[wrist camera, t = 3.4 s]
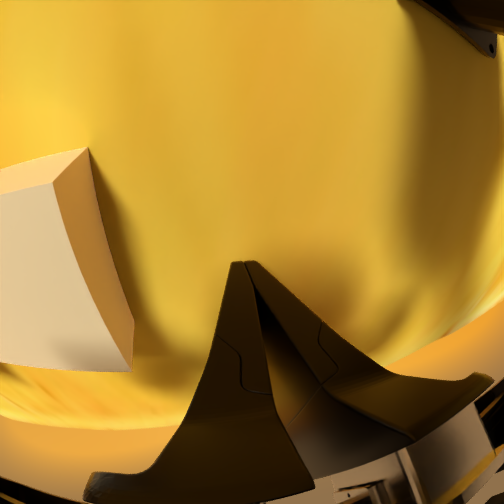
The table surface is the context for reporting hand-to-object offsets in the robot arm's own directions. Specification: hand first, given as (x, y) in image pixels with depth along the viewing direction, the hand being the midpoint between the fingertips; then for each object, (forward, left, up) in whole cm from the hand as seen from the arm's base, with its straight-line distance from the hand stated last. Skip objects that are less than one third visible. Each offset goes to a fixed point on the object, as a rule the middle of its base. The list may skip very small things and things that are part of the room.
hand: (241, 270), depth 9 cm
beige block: (+10, 0, -2) cm, 10 cm away
